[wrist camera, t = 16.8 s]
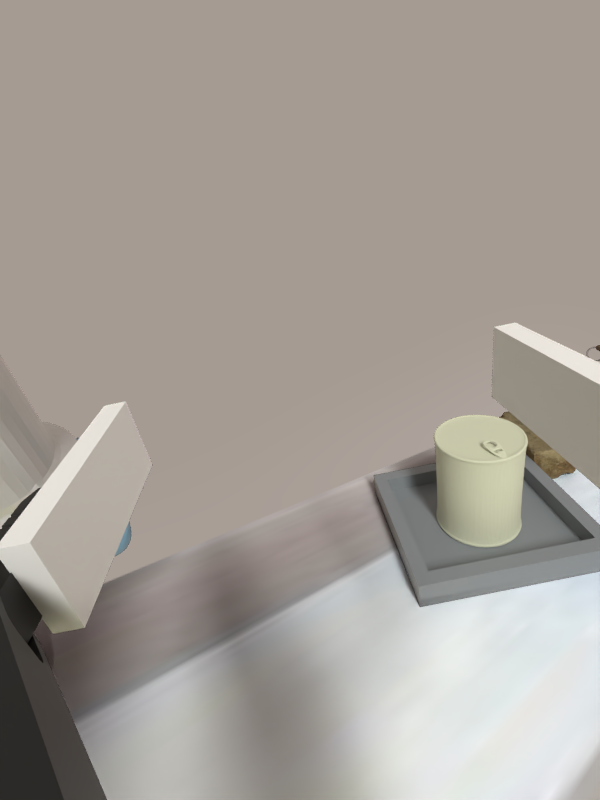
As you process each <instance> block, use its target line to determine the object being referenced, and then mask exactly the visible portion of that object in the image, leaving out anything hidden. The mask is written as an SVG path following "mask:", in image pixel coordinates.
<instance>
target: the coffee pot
mask: <svg viewBox="0 0 600 800" xmlns="http://www.w3.org/2000/svg"><path fill="white" fill-rule="evenodd" d="M592 348H596V349H597V350H599V351H600V345H598V346H596V347H592ZM592 348H589V349H588V350H587V353H586V355H587V357H588V358H589V356H588V351H589V350H590V349H592ZM594 361H600V360H594Z"/></svg>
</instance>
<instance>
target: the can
mask: <svg viewBox="0 0 600 800" xmlns="http://www.w3.org/2000/svg"><path fill="white" fill-rule="evenodd" d="M434 441H435V454H436V474H437V511H436V516H437V521H438V523H439V525H440V527H441V528H442V529H443V530H444V532H445V533H446V534H448V535H449V536H450V537H452V538H453V539H455V540H457V541H459V542H461V543H463V544H466V545H470V546H475V547H483V548H489V547H498V546H502V545H505V544H507V543H509V542H511V541H512V540H514V539H515V538H516V537H517V535H518V534H519V532H520V530H521V526H522V521H521V504H522V490H523V478H524V467H525V457H526V449H527V445H528V439H527V436H526V434H525V432H524V431H523V430H522V429H521V428H520V427H519V426H517V425H516V424H514V423H512V422H510V421H508V420H505V419H502V418H498V417H494V416H488V415H466V416H460V417H456V418H453V419H450V420H448V421H446V422H444V423H442V424H441V425H440V426H439V427H438V428H437V429H436V431H435V433H434Z"/></svg>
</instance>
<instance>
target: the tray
mask: <svg viewBox="0 0 600 800" xmlns="http://www.w3.org/2000/svg"><path fill="white" fill-rule="evenodd" d="M374 483H375V491H376V495H377V497H378V500H379V502H380V505H381V507H382V510H383V513H384V515H385V518H386V520H387V523H388V525H389V528H390V531H391V533H392V536H393V538H394V541H395V543H396V546H397V548H398V551H399V554H400V556H401V559H402V561H403V564H404V566H405V569H406V572H407V574H408V577H409V579H410V582H411V584H412V587H413V590H414V592H415V595H416V597H417V600H418V602H419V605H420V607H423V606H428V605H433V604H438V603H443V602H448V601H453V600H458V599H463V598H468V597H473V596H478V595H483V594H488V593H493V592H498V591H504V590H509V589H514V588H519V587H524V586H529V585H534V584H539V583H544V582H549V581H554V580H559V579H564V578H569V577H574V576H579V575H584V574H589V573H594V572H599V571H600V525H599V524H598V523H597V522H596V521H595V520H594V519H593V518H592V517H591V516H590V515H589V514H588V513H587V512H586V511H585V510H584V509H583V508H582V507H581V506H580V505H578V504H577V503H576V502H575V501H574V500H573V499H572V498H571V497H570V496H569V495H568V494H567V493H566V492H565V491H564V490H563V489H562V488H561V487H560V486H559V485H558V484H557V483H556V482H554V481H553V480H552V479H551V478H550V477H549V476H548V475H547V474H546V473H545V472H544V471H543V470H542V469H541V468H540V467H539V466H538V465H537V464H536V463H535V462H534V461H533V460H532V459H530V458H529V457H528V456H527V455H526V457H525V467H524V478H523V490H522V504H521V521H522V526H521V530H520V532H519V534H518V535H517V537H516V538H515V539H514V540H512V541H511V542H509V543H507V544H505V545H502V546H498V547H489V548H483V547H475V546H470V545H466V544H463V543H461V542H459V541H457V540H455V539H453V538H452V537H450V536H449V535H448V534H446V533H445V532H444V530H443V529H442V528H441V527H440V525H439V523H438V521H437V516H436V511H437V474H436V463H433V464H428V465H423V466H418V467H413V468H408V469H403V470H398V471H393V472H388V473H383V474H378V475H374Z"/></svg>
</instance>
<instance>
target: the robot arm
mask: <svg viewBox="0 0 600 800" xmlns="http://www.w3.org/2000/svg"><path fill="white" fill-rule="evenodd" d="M492 397H493V398H494V399H495V400H496V401H497V402H499V403H500V404H501V405H502V406H503V407H504V408H506V409H507V410H508V411H509V412H510V413H511V414H513V415H514V416H515V417H516V418H517V419H518V420H520V421H521V422H522V423H523V424H524V425H525V426H527V427H528V428H529V429H530V430H531V431H533V432H534V433H535V434H536V435H537V436H538V437H540V438H541V439H542V440H543V441H544V442H545V443H547V444H548V445H549V446H550V447H551V448H552V449H554V450H555V451H556V452H557V453H558V454H560V455H561V456H562V457H563V458H564V459H565V460H567V461H568V462H569V463H570V464H571V465H572V466H574V467H575V468H576V469H577V470H578V471H579V472H581V473H582V474H583V475H584V476H585V477H587V478H588V479H589V480H590V481H591V482H592V483H594V484H595V485H596V486H597V487H598V488H599V489H600V363H598V362H596V361H594V360H592V359H590V358H588V357H586V356H584V355H582V354H580V353H578V352H575V351H573V350H571V349H569V348H567V347H565V346H563V345H561V344H558V343H557V342H555V341H553V340H551V339H548V338H546V337H544V336H542V335H540V334H538V333H536V332H534V331H532V330H530V329H527V328H525V327H523V326H521V325H519V324H517V323H511V324H506V325H502V326H496V327H494V337H493V370H492ZM151 467H152V463H151V460H150V458H149V456H148V453H147V451H146V449H145V446H144V444H143V441H142V439H141V436H140V434H139V432H138V430H137V427H136V425H135V422H134V420H133V417H132V415H131V413H130V410H129V408H128V405H127V403H126V402H121V403H117V404H112V405H106V406H104V407H103V409H102V410H101V411H100V412H99V414H98V415H97V416H96V418H95V419H94V420H93V421H92V423H91V424H90V425H89V427H88V428H87V429H86V431H85V432H84V433H83V434H82V436H81V437H80V438H77V439H75V437H74V436H73V435H72V434H71V433H70V432H69V431H67V430H66V429H64V428H62V427H60V426H57V425H55V424H51V423H47V422H41V420H40V419H39V417H38V415H37V413H36V412H35V410H34V409H33V407H32V406H31V404H30V402H29V401H28V399H27V397H26V396H25V394H24V393H23V391H22V389H21V388H20V386H19V385H18V383H17V381H16V380H15V378H14V377H13V375H12V373H11V372H10V370H9V368H8V367H7V365H6V364H5V362H4V361H3V359H2V357H1V356H0V800H107V799H106V796H105V794H104V792H103V789H102V787H101V784H100V782H99V780H98V777H97V775H96V773H95V770H94V768H93V766H92V763H91V761H90V759H89V756H88V754H87V752H86V749H85V747H84V745H83V742H82V740H81V738H80V735H79V733H78V731H77V728H76V726H75V724H74V721H73V719H72V717H71V714H70V712H69V710H68V707H67V705H66V703H65V700H64V698H63V696H62V693H61V691H60V689H59V686H58V684H57V682H56V679H55V677H54V675H53V672H52V670H51V668H50V665H49V663H48V661H47V658H46V656H45V654H44V651H43V649H42V647H41V644H40V642H39V641H38V640H37V638H36V637H35V636H34V634H33V633H34V631H35V629H36V627H37V625H38V623H39V622H40V620H41V618H42V619H43V621H44V622H45V623H46V625H47V626H48V628H49V629H50V630H51V632H52V633H53V634H56V633H61V632H66V631H71V630H76V629H81V628H85V626H86V624H87V621H88V619H89V617H90V614H91V612H92V609H93V607H94V605H95V602H96V600H97V597H98V595H99V593H100V590H101V588H102V585H103V583H104V580H105V578H106V576H107V573H108V571H109V568H110V566H111V564H112V561H113V559H114V557H115V556H117V555H118V554H120V553H121V552H123V551H124V550H125V549H126V548H127V546H128V545H129V542H130V540H131V527H130V522H129V520H130V518H131V516H132V513H133V511H134V508H135V506H136V503H137V501H138V499H139V496H140V494H141V491H142V489H143V487H144V484H145V482H146V479H147V477H148V475H149V472H150V470H151Z"/></svg>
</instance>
